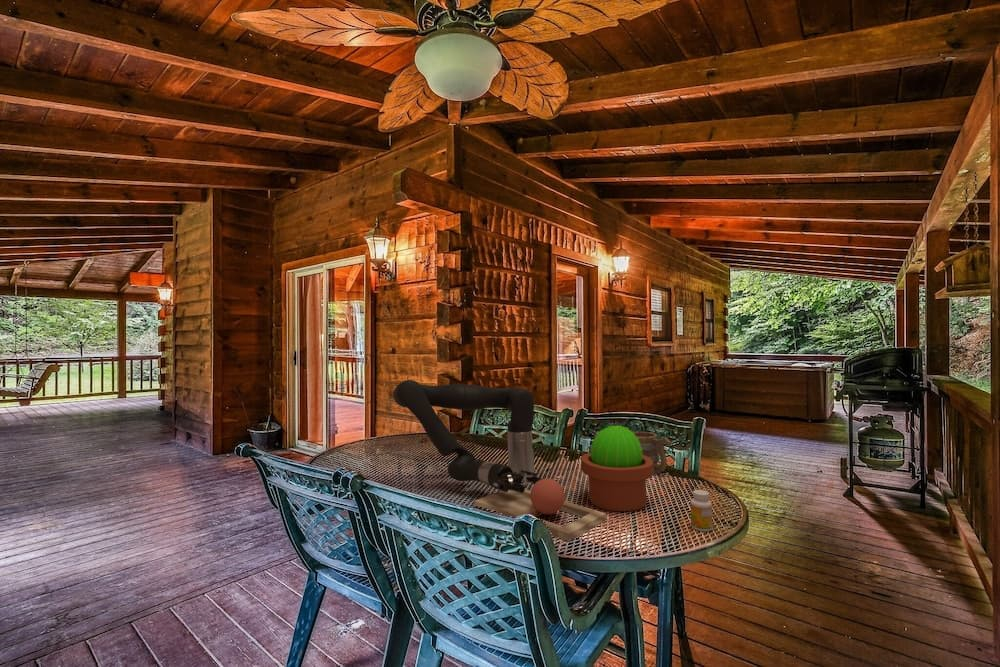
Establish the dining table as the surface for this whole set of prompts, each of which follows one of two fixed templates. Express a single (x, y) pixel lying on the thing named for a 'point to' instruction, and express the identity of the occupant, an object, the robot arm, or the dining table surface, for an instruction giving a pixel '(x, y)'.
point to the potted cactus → (617, 470)
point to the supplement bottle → (701, 511)
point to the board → (521, 504)
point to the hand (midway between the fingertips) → (533, 485)
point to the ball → (547, 496)
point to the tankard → (653, 449)
